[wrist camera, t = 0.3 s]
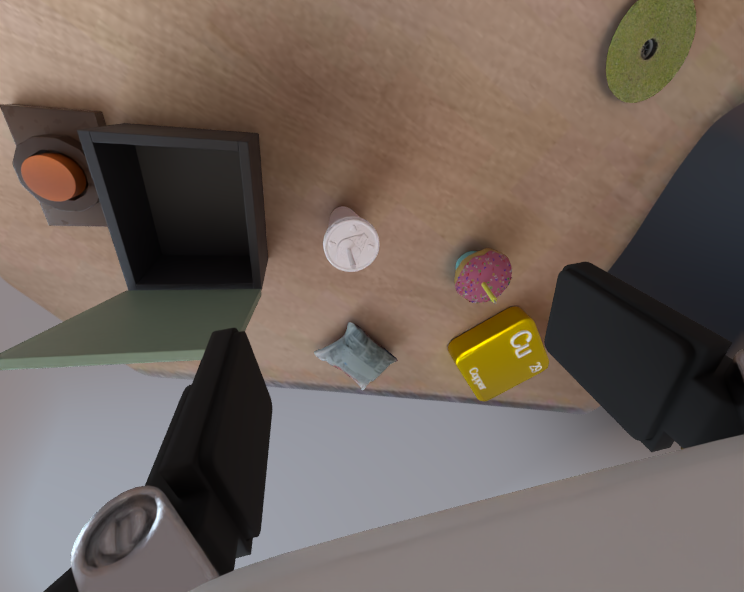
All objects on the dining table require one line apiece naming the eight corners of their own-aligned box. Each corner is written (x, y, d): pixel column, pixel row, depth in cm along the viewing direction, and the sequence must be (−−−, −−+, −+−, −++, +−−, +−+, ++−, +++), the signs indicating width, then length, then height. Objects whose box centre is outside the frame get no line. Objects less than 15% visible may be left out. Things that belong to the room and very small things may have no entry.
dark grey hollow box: (124, 123, 36) (76, 130, 28) (258, 133, 38) (248, 142, 31) (158, 258, 44) (128, 291, 36) (268, 258, 46) (261, 290, 39)
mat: (586, 29, 39) (599, 26, 37) (678, -35, 38) (696, -41, 36) (602, 120, 45) (613, 121, 43) (682, 68, 43) (697, 67, 42)
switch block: (11, 104, 33) (-18, 105, 30) (102, 111, 35) (83, 113, 32) (57, 221, 39) (37, 231, 36) (133, 222, 41) (119, 232, 38)
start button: (26, 150, 33) (12, 153, 31) (77, 153, 34) (66, 156, 32) (44, 195, 35) (32, 200, 33) (92, 197, 36) (82, 202, 34)
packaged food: (359, 379, 61) (363, 399, 57) (312, 345, 55) (314, 365, 51) (395, 351, 59) (403, 369, 55) (351, 312, 54) (356, 330, 49)
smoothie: (309, 218, 44) (312, 262, 33) (345, 185, 43) (361, 219, 31) (341, 250, 48) (354, 301, 36) (375, 221, 46) (400, 263, 35)
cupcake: (439, 287, 54) (471, 331, 44) (450, 237, 50) (488, 273, 40) (487, 286, 56) (529, 329, 46) (502, 238, 51) (551, 273, 41)
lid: (-14, 359, 20) (-10, 371, 20) (231, 348, 23) (232, 358, 23) (126, 290, 36) (127, 297, 36) (261, 288, 38) (261, 295, 39)
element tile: (443, 343, 60) (453, 361, 56) (518, 301, 58) (534, 316, 54) (471, 388, 68) (482, 407, 64) (538, 352, 66) (553, 369, 62)
